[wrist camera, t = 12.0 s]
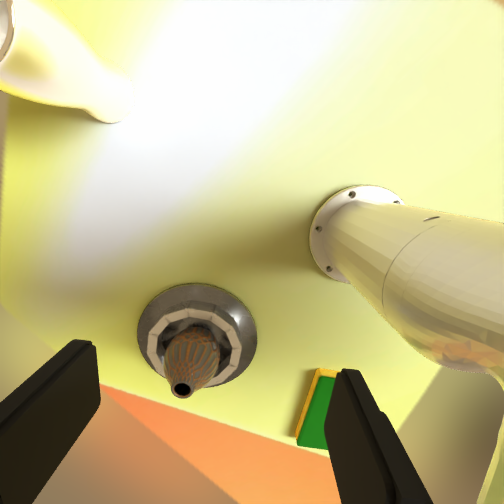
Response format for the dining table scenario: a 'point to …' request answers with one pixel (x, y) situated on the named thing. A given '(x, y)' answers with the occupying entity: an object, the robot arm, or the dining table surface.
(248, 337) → the ring seat
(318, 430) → the dish sponge
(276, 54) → the dining table surface
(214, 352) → the vase
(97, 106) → the beer glass
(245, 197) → the dining table surface
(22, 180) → the dining table surface
